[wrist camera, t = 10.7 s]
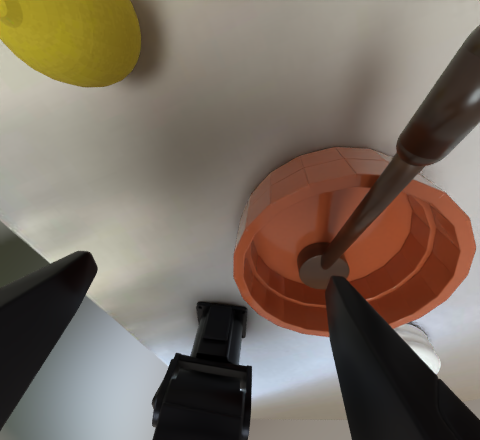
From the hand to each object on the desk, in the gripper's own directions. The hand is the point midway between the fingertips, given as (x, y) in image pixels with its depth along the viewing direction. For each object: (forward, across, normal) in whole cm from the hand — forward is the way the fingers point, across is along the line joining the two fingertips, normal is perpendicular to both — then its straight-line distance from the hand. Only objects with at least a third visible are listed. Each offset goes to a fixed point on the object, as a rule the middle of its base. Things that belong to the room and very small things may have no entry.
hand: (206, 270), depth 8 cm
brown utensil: (+11, -8, +2) cm, 14 cm away
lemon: (+12, +8, -8) cm, 17 cm away
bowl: (+12, -8, +6) cm, 16 cm away
